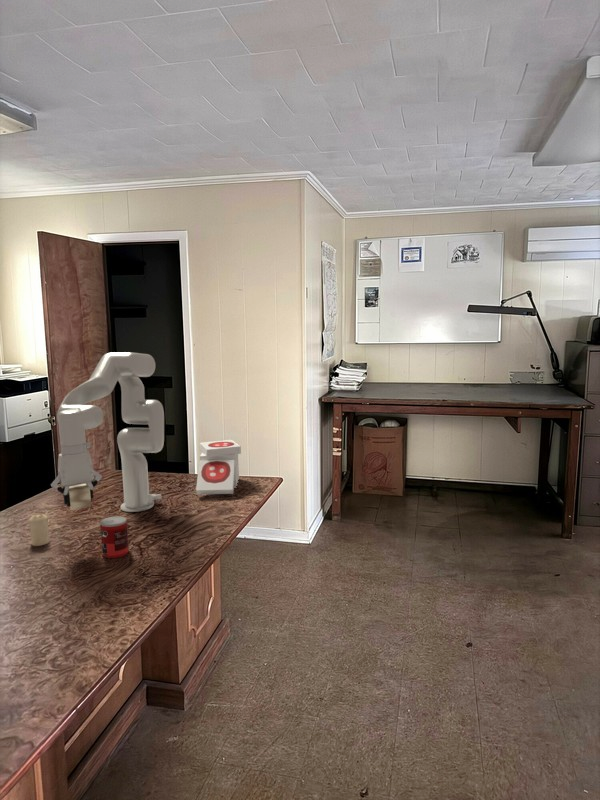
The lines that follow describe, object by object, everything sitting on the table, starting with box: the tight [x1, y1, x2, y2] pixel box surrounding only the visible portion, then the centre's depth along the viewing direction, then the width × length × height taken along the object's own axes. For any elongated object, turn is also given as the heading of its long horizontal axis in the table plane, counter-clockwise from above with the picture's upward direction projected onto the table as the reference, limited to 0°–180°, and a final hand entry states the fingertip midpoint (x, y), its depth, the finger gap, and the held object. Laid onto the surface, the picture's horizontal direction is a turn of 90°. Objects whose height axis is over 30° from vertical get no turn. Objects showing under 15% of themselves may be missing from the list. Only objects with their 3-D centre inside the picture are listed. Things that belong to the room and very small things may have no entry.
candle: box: [28, 512, 50, 547], centre depth 192 cm, size 6×6×10 cm
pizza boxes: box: [195, 439, 242, 495], centre depth 248 cm, size 19×30×18 cm, turn 1°
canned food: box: [99, 515, 129, 559], centre depth 182 cm, size 8×8×11 cm
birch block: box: [68, 483, 92, 511], centre depth 184 cm, size 6×6×6 cm
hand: (79, 502), depth 185 cm, fingers closed on birch block, 6 cm apart
